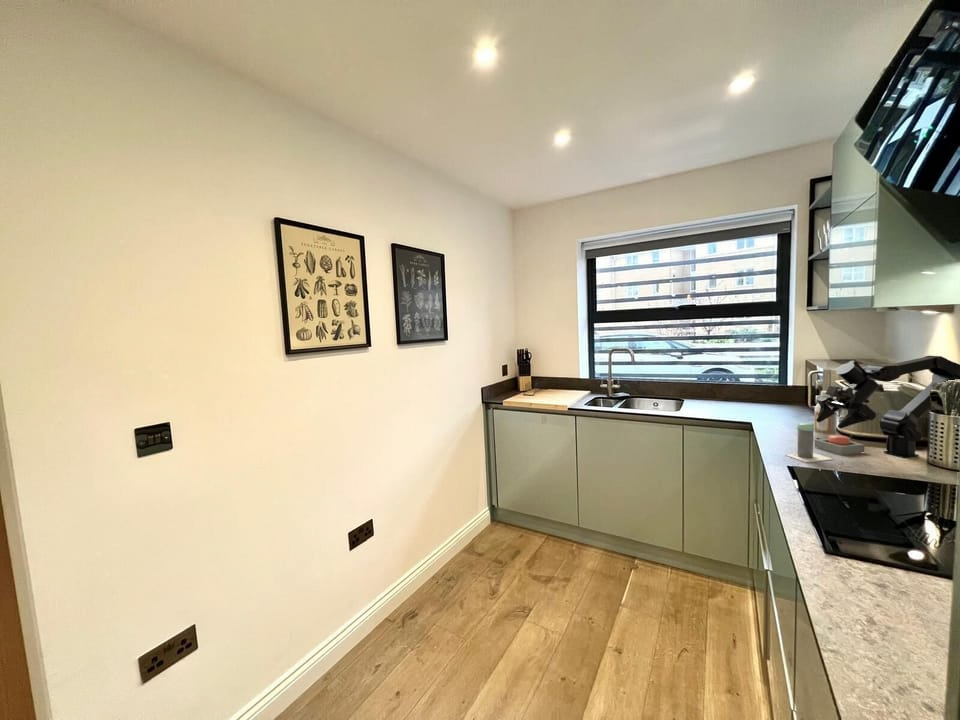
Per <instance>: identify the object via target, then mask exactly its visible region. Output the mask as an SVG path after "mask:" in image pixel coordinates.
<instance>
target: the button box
mask: <svg viewBox="0 0 960 720" xmlns="http://www.w3.org/2000/svg"><path fill="white" fill-rule="evenodd" d="M815 447H817V448H816V449H819V450H822V449H823V451H825V452H829V453H832V452H833V454H837V455H840V456H843V455H854V453H856V454H862V453H861V452H864V453H865V444H863V443H859V442H854V441H851V440H850V445H841V446H840V445H837V444H833V443H829V442H828V439H814V448H815Z"/></svg>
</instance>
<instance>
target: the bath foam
mask: <svg viewBox="0 0 960 720" xmlns="http://www.w3.org/2000/svg"><path fill="white" fill-rule="evenodd" d="M826 391H827V390H821V391H820V396H825V397H830V398H831V395H829V394H828V395H827V394H825V393H826ZM820 408H821V407H820V405H819V404H818V403H817V404H816V405H815V407H814V423H813V424H814V431H813V438H815V437H816V438H815V439H817V438H819V439H828V438H829V435H837V417H838V416H837V412H838V411H835V414H833V415H832V416H830V417H828V418H827V419H825V420H823V421H821V422H817V421H816V420H817V417H818V415H819V412H820ZM819 439H818V440H819Z"/></svg>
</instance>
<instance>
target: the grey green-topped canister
mask: <svg viewBox="0 0 960 720" xmlns="http://www.w3.org/2000/svg"><path fill="white" fill-rule="evenodd" d="M796 451H797V453H796V454H797V456H799V457H802V458H813V453H814V423H810V422H797V450H796Z"/></svg>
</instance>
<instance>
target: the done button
mask: <svg viewBox="0 0 960 720" xmlns="http://www.w3.org/2000/svg"><path fill="white" fill-rule="evenodd" d="M850 438H851V437H850V436H847V435H843V434H842V435H841V434H840V435H839V434H836V435H829V438H828V442H829V443H833V444H837V445H840V446H841V445H850V441H851V439H850Z"/></svg>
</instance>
